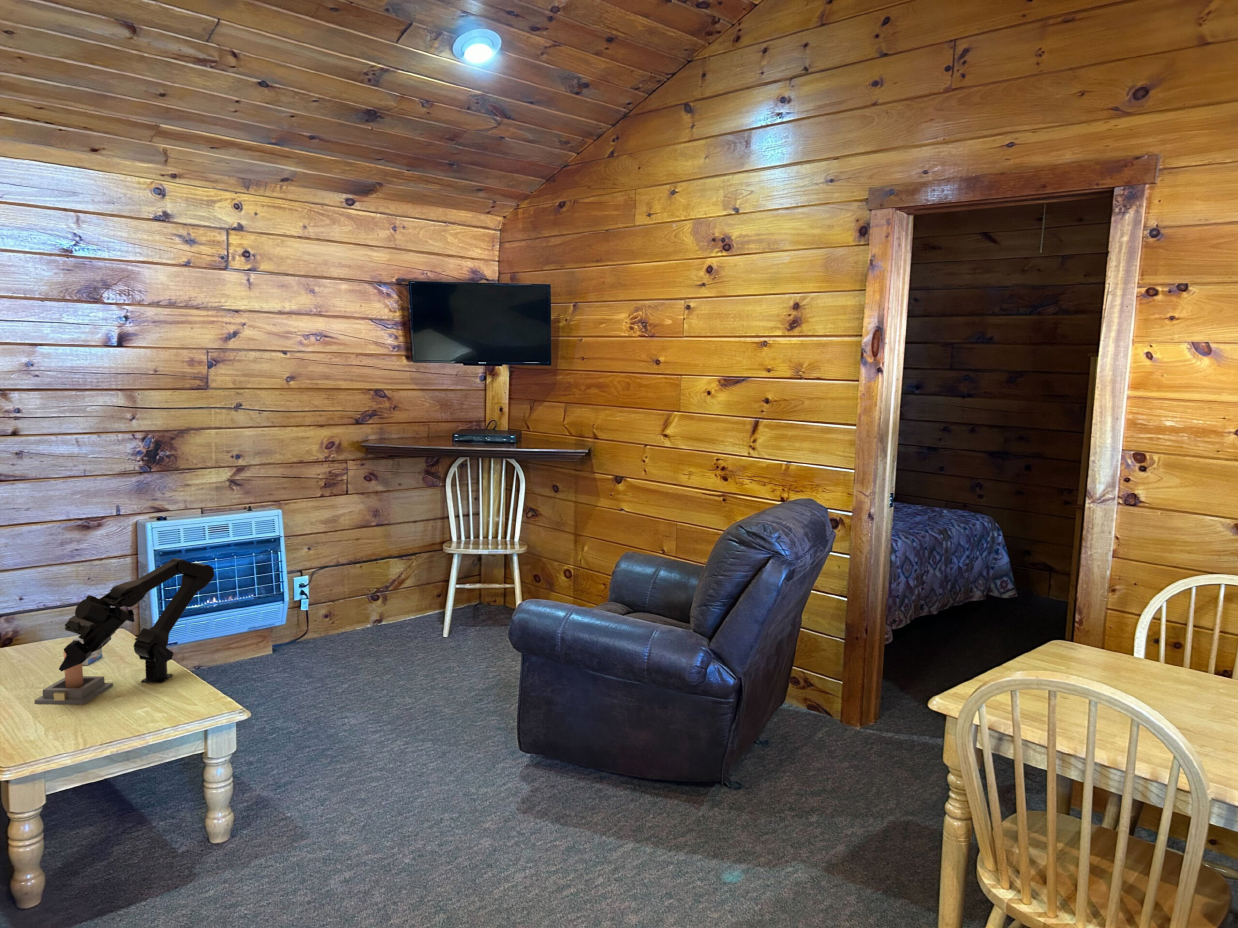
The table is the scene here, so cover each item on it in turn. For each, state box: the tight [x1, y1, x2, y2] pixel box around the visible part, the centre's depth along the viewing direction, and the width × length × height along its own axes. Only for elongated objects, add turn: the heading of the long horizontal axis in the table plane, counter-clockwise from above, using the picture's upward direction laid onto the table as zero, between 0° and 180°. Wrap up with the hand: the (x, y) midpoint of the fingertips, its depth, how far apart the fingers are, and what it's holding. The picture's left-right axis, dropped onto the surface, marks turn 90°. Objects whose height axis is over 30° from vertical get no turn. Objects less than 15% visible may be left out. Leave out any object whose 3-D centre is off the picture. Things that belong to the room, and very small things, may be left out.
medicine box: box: [72, 636, 103, 666], centre depth 284 cm, size 8×4×9 cm, turn 179°
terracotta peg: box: [62, 651, 84, 688], centre depth 255 cm, size 4×4×12 cm
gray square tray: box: [33, 675, 114, 705], centre depth 256 cm, size 14×14×4 cm
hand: (67, 664), depth 255 cm, fingers open, 9 cm apart
